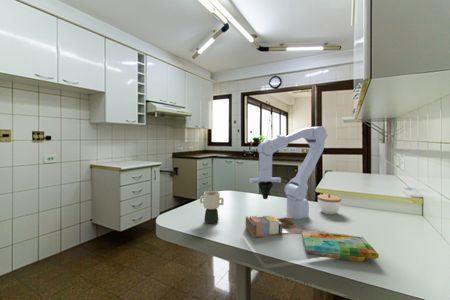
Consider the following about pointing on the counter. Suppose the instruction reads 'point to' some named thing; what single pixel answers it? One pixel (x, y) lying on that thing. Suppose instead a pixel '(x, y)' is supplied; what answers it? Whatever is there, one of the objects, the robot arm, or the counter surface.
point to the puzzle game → (338, 246)
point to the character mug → (211, 205)
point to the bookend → (282, 229)
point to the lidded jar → (329, 203)
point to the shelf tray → (287, 225)
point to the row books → (261, 226)
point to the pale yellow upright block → (272, 224)
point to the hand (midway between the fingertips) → (265, 198)
